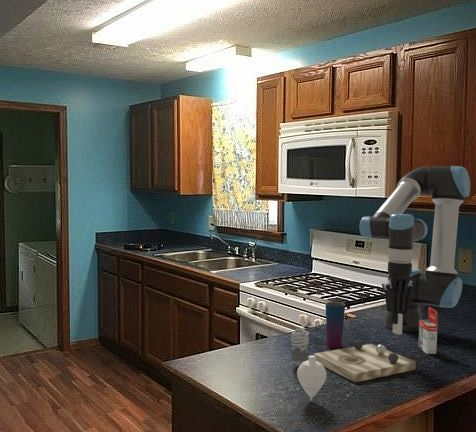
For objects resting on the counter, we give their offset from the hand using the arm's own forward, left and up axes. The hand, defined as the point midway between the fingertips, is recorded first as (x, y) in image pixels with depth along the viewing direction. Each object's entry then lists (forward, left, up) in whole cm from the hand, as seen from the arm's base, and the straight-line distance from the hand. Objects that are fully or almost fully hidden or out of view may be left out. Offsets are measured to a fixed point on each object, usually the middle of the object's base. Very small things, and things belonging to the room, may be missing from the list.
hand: (397, 333), depth 174 cm
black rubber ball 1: (+10, -8, -5) cm, 13 cm away
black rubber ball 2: (+9, +7, -5) cm, 12 cm away
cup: (+10, -20, -9) cm, 24 cm away
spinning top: (+45, +15, -9) cm, 48 cm away
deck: (+14, 0, -9) cm, 16 cm away
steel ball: (+7, 0, -5) cm, 8 cm away
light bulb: (+33, -8, -9) cm, 35 cm away
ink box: (-16, -2, -9) cm, 19 cm away
